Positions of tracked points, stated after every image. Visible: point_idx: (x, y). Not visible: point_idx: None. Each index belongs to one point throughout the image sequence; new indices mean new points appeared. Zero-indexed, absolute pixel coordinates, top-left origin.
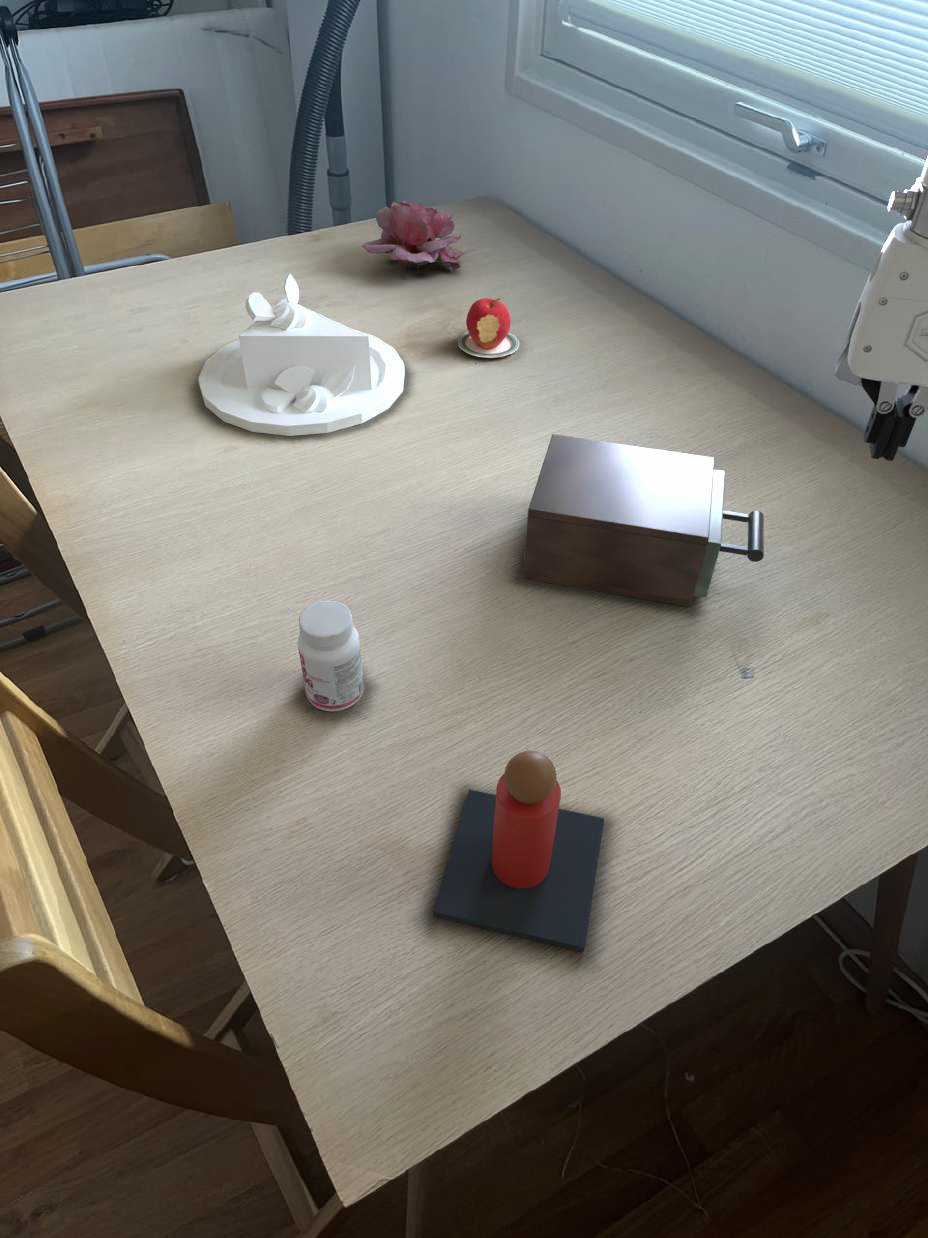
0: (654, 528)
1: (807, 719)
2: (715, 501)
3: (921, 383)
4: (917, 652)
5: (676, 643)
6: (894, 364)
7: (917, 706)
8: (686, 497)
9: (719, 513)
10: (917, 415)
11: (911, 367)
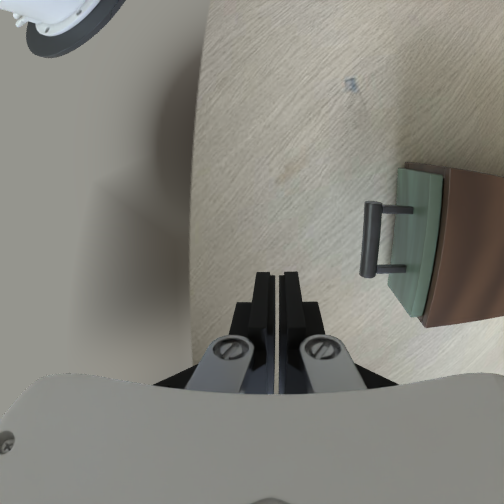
0: (493, 176)
1: (295, 44)
2: (430, 256)
3: (255, 395)
4: (193, 153)
5: (411, 112)
6: (425, 444)
7: (199, 85)
8: (465, 242)
9: (429, 234)
10: (227, 341)
11: (336, 456)
